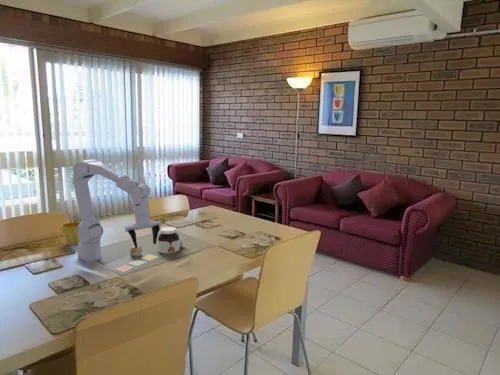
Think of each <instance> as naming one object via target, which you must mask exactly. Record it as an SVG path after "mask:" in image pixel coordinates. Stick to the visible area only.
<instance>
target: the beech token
mask: <svg viewBox="0 0 500 375" xmlns="http://www.w3.org/2000/svg"><path fill="white" fill-rule="evenodd" d="M142 247H143V246H142V245H140V244H137V248H135V246H134V245H132V246H130V250H129V251H130V255H131V257H133V258H137V257H141V256H142V252H143V248H142Z"/></svg>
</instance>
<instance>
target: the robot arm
mask: <svg viewBox="0 0 500 375" xmlns="http://www.w3.org/2000/svg"><path fill="white" fill-rule="evenodd" d="M71 168H72V174H73V175H72V183H73V184H72V185H73V189H74V193H75V198H76V202H77V208H78V212H79V216H80V217H79V218H80V221H79V222H80V224H79V225H78V234H77V236H78V239H79V240H80V242H79V243H78V245H77V257H78V259H81V260H82V261H85V262H94V261H95V262H96V261H99V260H100V259H101V258H102V249H101V238H102V236H103V234H104V228H103V226H102V225H101V221H100V220H99V219H98V218H96V216H95V211H94V206H93V202H92V197H91V192H90V189H89V187H90V186H89V182H90V180H91V179H92V177H94V176H95V175H99V176H102V177H104V178H106V179H107V180H110V181H112V182H114V183H115V185H116V187H117V188H118V189H120V190H122V191H123V192H125V193H127V194H129V196H130V198H131V199H132V202H133V208H134V219H135V224H134V223H133V224H131V225H126V226H124V231H125V233H128V234H129V236H130V237H131V239H132V242H133V246H135V248H137V245H138V243H137V233H136V231H139V230H143V229H144V230H145V229H149V228H151V233H152V243H153V245H157V241H158V236H159V235H158V234H159V232H160V231H161V227H162V221H161V220H157V221H156V220H154V221H151V215H150V205H149V195H150V194H151V193H150V192H151V188H150V187H149V185H148V184H146V183H144V182H143V183H140V181H138V180H134V179H133V178H132V177H130V175H128V174H122V175H120V174H119V173H117V172H116V171H114V170H112V169H111V168H109V167H108V166H107V165H106V164H104V163H103V162H102V161H99V160H98V159H96V158H92V159H85V160H78V161H76V162H75V163H74V164H73V166H71Z"/></svg>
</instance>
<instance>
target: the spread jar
mask: <svg viewBox="0 0 500 375" xmlns="http://www.w3.org/2000/svg"><path fill="white" fill-rule="evenodd" d="M184 245H185V241H184V239H183V238H182V236H179V234H178V232H177V228H176V227H173V226H166V227H162V228H160V234H159V235H157V251H158V252H159V253H160V254H175V253H178V252H179V251H180V249H181V248H183V247H184Z"/></svg>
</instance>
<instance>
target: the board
mask: <svg viewBox="0 0 500 375" xmlns="http://www.w3.org/2000/svg"><path fill="white" fill-rule="evenodd" d="M161 258H163V256H161V255H156V254H153V253H149V252H144V251H142V256H141V257H137V258H133V257H131V254H130V255H126V256H124V257H121V258H119V259H117V260H114V261H111V262H109V263H106V264H103V265H101V266H99V268H100V269H104V270H108V271H110V272H114V273H117V274H121V275H126V274H128V273H130V272H133V271H135V270H137V269H139V268H141V267H144V266H146V265H149V264H150V263H152V262H153V263H154V261H155V262H156V261H157V260H160V259H161Z"/></svg>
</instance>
